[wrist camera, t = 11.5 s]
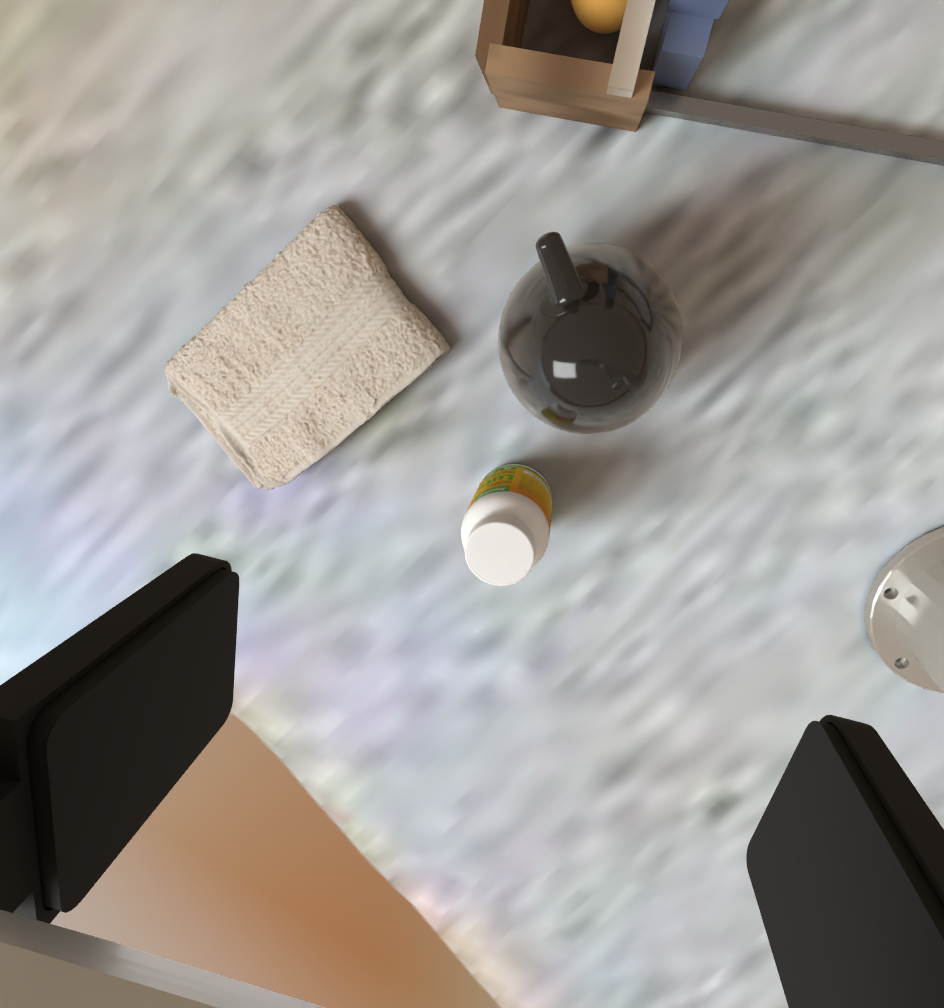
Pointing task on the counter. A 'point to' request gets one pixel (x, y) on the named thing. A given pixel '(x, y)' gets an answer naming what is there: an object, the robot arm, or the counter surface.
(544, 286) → the pump dispenser
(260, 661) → the counter surface
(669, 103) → the track
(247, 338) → the washcloth
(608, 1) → the ball
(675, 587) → the counter surface
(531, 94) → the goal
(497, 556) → the supplement bottle
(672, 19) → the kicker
